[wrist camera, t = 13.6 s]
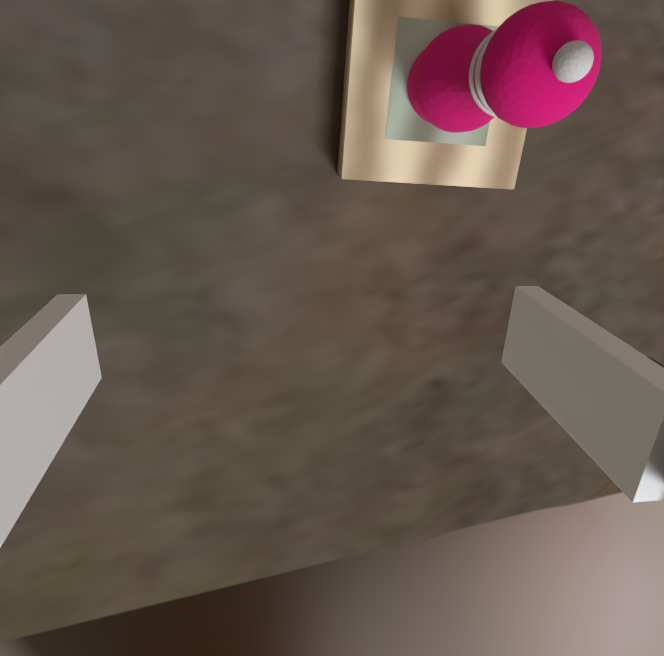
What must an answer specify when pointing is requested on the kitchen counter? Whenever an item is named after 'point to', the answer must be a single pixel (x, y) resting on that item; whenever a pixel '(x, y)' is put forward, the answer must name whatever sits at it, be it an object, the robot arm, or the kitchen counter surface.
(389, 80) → the base plate
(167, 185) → the kitchen counter surface
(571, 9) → the pepper mill
